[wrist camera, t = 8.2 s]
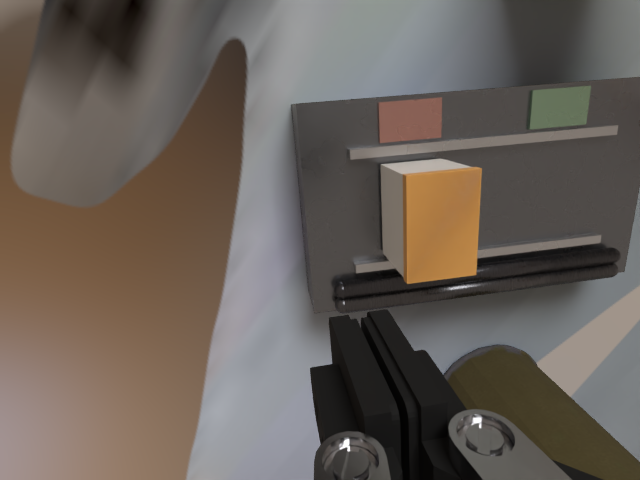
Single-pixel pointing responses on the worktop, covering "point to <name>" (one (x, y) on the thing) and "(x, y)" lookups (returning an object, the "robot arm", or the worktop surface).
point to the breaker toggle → (431, 218)
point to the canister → (539, 411)
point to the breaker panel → (496, 186)
